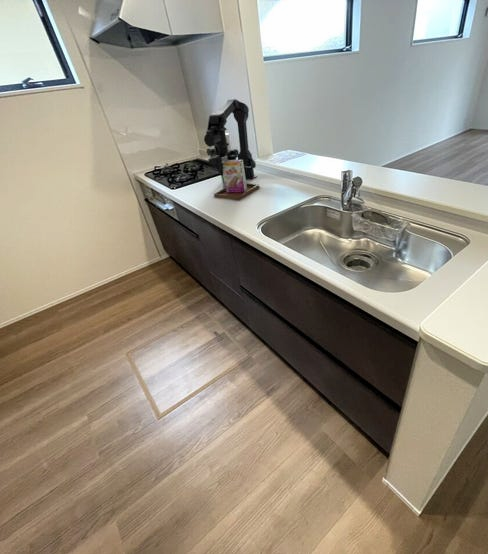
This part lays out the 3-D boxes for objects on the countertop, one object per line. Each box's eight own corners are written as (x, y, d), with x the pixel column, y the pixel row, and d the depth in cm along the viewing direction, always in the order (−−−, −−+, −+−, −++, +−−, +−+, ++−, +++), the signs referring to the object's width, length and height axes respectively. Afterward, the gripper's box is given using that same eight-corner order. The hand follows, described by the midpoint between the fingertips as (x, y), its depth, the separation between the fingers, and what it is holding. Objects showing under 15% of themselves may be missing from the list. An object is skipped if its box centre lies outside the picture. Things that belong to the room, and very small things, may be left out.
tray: (236, 185, 175) (235, 182, 174) (259, 187, 167) (259, 184, 166) (214, 197, 162) (213, 193, 160) (238, 200, 154) (238, 197, 153)
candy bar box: (225, 193, 163) (219, 162, 154) (228, 190, 167) (223, 160, 158) (245, 193, 161) (240, 161, 151) (247, 189, 165) (243, 159, 155)
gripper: (220, 137, 161) (225, 166, 171) (197, 145, 149) (204, 177, 158) (236, 137, 156) (241, 168, 165) (214, 146, 144) (220, 178, 153)
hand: (226, 172), depth 161 cm, fingers open, 9 cm apart
